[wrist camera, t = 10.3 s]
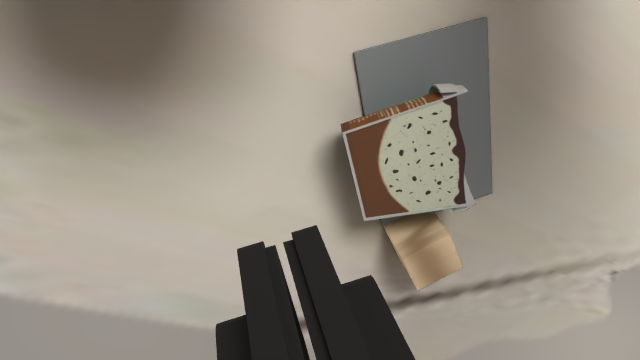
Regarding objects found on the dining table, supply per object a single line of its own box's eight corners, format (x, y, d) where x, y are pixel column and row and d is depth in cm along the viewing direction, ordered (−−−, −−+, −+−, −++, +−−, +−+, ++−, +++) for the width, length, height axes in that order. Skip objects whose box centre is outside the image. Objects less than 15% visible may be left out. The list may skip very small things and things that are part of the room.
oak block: (427, 203, 50) (450, 234, 46) (440, 236, 53) (462, 267, 49) (383, 226, 50) (402, 259, 46) (398, 257, 53) (417, 290, 49)
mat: (484, 17, 43) (487, 17, 42) (490, 191, 52) (492, 193, 51) (353, 52, 42) (354, 53, 41) (382, 224, 50) (383, 226, 50)
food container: (358, 193, 50) (456, 171, 49) (366, 233, 45) (476, 209, 44) (331, 83, 43) (445, 55, 42) (338, 116, 38) (467, 84, 37)
